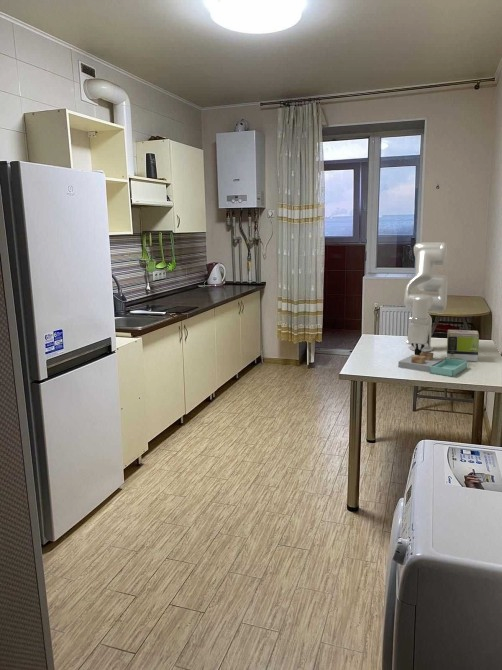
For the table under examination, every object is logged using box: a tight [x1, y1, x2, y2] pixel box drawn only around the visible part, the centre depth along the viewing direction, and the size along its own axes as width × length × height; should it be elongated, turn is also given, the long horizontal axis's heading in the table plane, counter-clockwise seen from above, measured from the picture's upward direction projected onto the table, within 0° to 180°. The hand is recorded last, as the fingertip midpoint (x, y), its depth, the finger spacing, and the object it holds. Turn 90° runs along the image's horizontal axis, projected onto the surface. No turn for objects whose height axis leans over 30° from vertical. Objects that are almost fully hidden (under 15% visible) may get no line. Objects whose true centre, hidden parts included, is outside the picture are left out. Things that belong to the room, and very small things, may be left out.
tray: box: [429, 357, 469, 378], centre depth 250 cm, size 11×20×4 cm, turn 140°
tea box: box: [446, 329, 480, 362], centre depth 271 cm, size 15×10×15 cm, turn 71°
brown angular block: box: [420, 351, 434, 360], centre depth 261 cm, size 5×5×3 cm
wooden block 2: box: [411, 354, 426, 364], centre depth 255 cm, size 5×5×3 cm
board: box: [398, 354, 444, 373], centre depth 259 cm, size 16×17×3 cm
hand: (417, 356), depth 264 cm, fingers closed
